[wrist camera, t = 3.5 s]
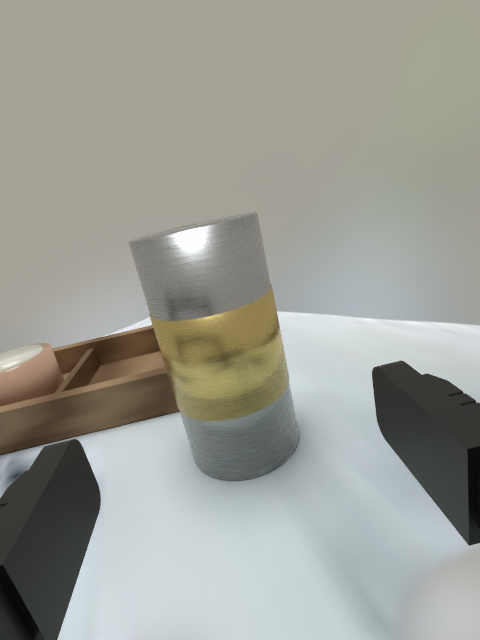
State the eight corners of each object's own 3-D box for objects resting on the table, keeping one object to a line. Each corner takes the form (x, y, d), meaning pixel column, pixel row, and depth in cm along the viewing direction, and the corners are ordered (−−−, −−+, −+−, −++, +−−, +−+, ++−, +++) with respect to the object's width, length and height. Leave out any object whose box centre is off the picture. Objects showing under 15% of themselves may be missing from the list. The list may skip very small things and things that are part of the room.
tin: (192, 494, 18) (113, 248, 14) (193, 423, 24) (138, 236, 20) (313, 463, 18) (269, 213, 14) (286, 400, 24) (248, 211, 20)
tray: (-83, 475, 25) (-106, 437, 24) (6, 389, 36) (-7, 362, 35) (208, 403, 25) (198, 364, 25) (205, 342, 37) (198, 314, 36)
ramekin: (-35, 436, 27) (-61, 387, 26) (7, 394, 33) (-12, 352, 32) (51, 415, 28) (30, 366, 26) (77, 377, 34) (61, 335, 32)
